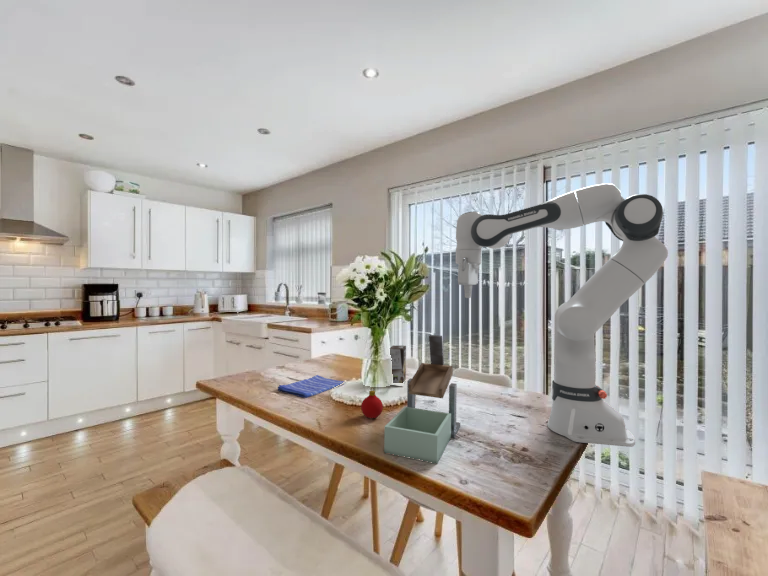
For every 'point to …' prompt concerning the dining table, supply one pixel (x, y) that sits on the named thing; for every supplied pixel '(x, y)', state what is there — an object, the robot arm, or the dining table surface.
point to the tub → (418, 434)
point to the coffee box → (398, 363)
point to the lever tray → (432, 372)
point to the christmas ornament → (372, 405)
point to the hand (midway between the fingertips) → (467, 297)
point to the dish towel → (309, 386)
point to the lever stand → (452, 406)
